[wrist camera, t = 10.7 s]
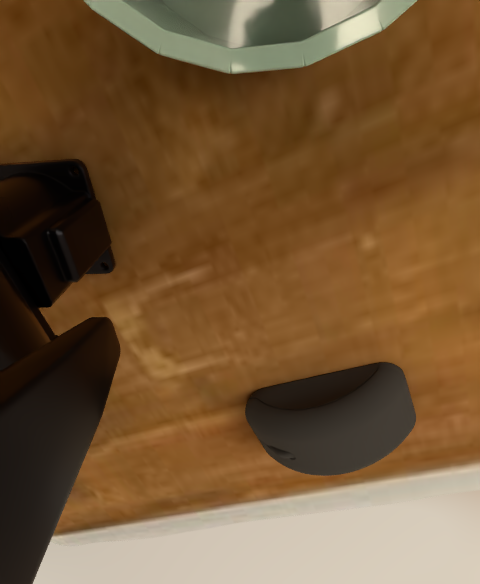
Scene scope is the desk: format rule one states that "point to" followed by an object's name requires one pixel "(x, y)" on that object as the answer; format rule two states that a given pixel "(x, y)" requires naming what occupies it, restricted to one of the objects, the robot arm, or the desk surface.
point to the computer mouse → (334, 419)
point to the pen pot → (250, 29)
